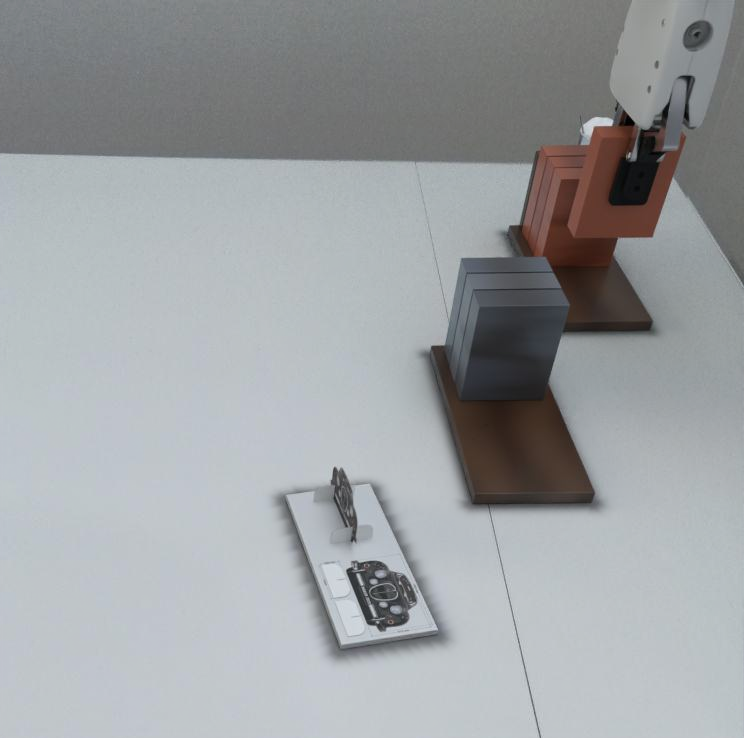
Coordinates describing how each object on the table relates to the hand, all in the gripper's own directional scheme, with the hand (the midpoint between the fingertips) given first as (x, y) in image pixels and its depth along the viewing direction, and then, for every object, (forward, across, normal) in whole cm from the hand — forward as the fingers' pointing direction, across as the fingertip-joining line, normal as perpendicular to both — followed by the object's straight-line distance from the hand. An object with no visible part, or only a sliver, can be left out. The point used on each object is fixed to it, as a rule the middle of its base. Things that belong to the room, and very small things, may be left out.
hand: (621, 193), depth 85 cm
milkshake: (+12, +22, -5) cm, 25 cm away
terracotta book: (+4, 0, 0) cm, 4 cm away
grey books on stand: (+11, -18, +12) cm, 24 cm away
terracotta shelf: (+11, +6, 0) cm, 13 cm away
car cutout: (+12, -34, +26) cm, 44 cm away
